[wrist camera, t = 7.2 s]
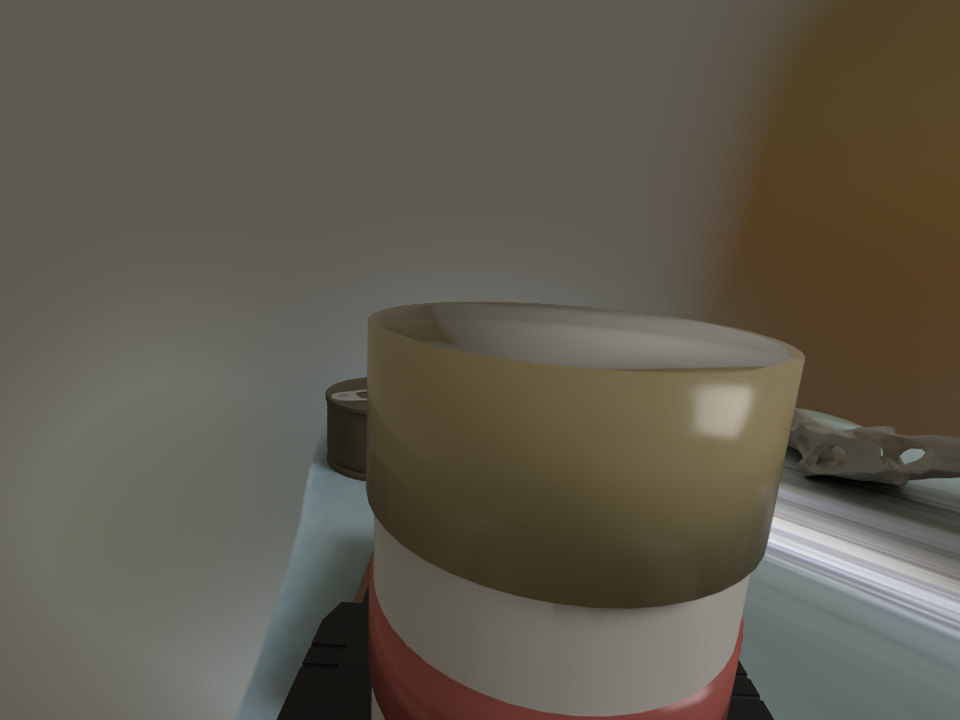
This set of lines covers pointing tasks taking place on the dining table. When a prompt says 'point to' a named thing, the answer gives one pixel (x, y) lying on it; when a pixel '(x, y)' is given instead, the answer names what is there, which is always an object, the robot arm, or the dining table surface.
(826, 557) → the dining table surface
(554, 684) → the fuse
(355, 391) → the can
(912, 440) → the skull
